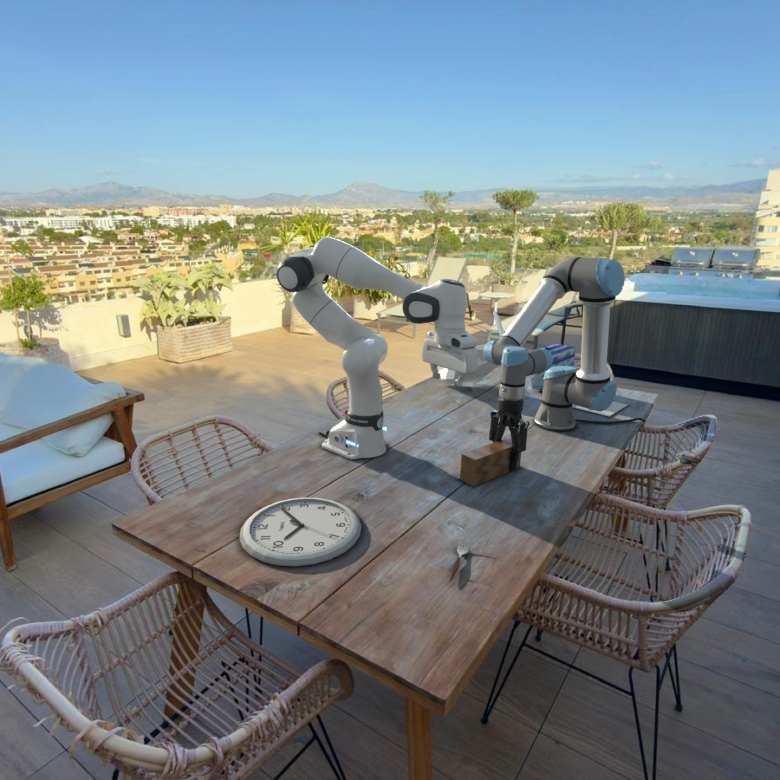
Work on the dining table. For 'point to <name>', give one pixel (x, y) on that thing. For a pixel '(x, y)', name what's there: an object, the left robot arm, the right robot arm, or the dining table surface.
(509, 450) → the bar
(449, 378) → the white plastic object
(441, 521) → the dining table surface
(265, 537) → the wall clock
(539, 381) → the lunch box
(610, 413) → the invitation card
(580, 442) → the dining table surface
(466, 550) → the fork
